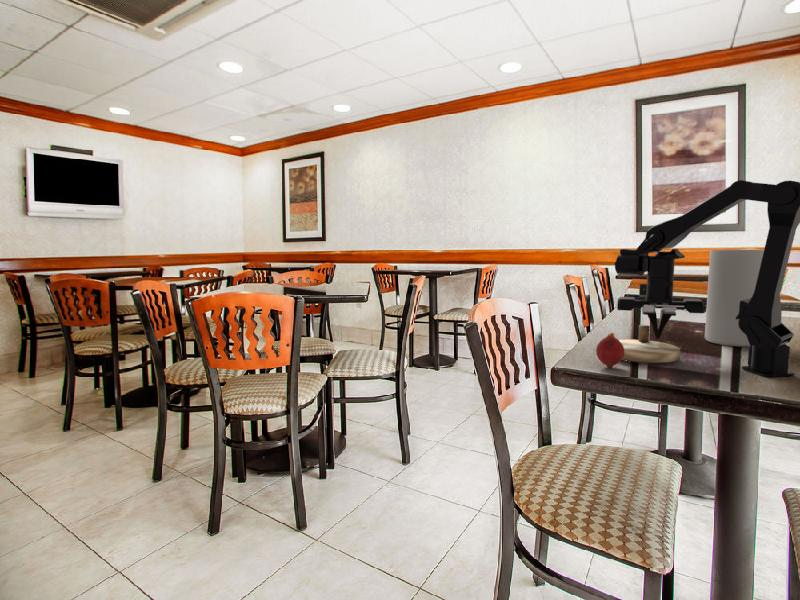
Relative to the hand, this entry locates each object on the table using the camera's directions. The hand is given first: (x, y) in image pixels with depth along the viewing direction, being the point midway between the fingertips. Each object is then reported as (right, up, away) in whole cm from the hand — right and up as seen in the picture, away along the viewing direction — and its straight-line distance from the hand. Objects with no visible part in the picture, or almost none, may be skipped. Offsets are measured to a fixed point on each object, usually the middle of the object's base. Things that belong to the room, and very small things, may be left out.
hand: (657, 338), depth 115 cm
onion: (-17, -6, -11) cm, 21 cm away
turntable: (-6, -4, -3) cm, 8 cm away
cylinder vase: (+26, -2, +10) cm, 28 cm away
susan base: (-6, -4, -3) cm, 8 cm away
